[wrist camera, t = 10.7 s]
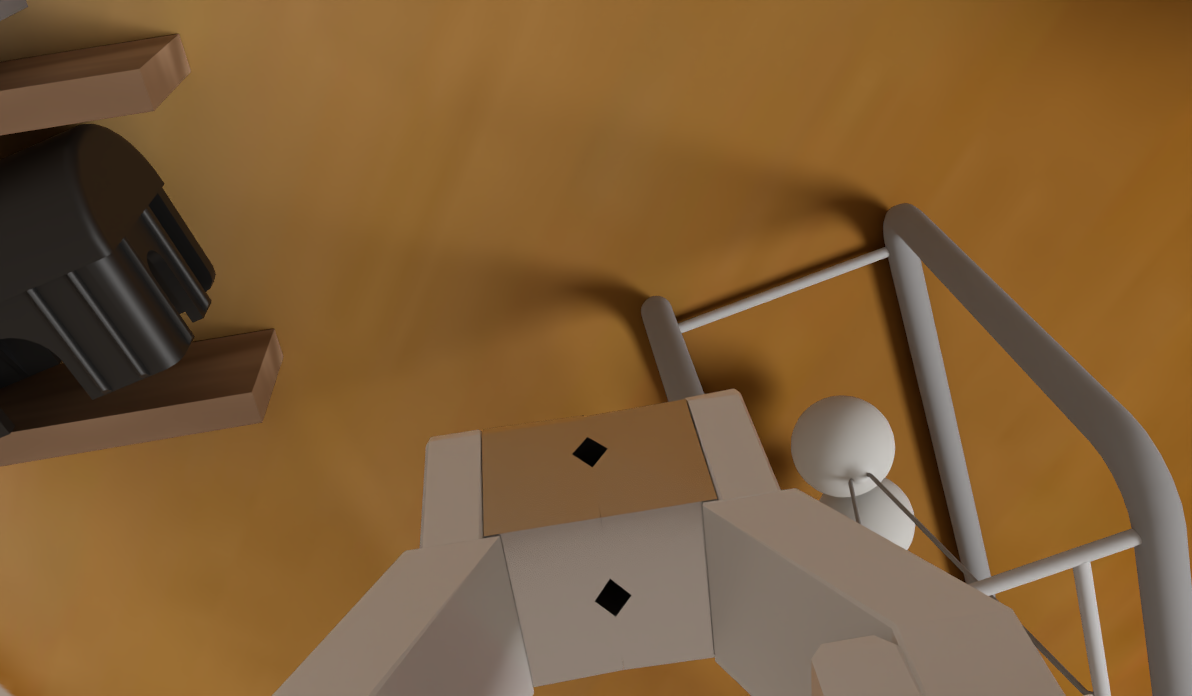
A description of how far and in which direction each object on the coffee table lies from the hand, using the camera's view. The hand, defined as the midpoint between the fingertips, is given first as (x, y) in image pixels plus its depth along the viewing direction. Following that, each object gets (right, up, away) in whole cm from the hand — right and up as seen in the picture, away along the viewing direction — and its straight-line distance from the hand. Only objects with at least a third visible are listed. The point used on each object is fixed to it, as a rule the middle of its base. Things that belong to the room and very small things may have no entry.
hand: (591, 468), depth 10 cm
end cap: (-19, +5, +26) cm, 32 cm away
